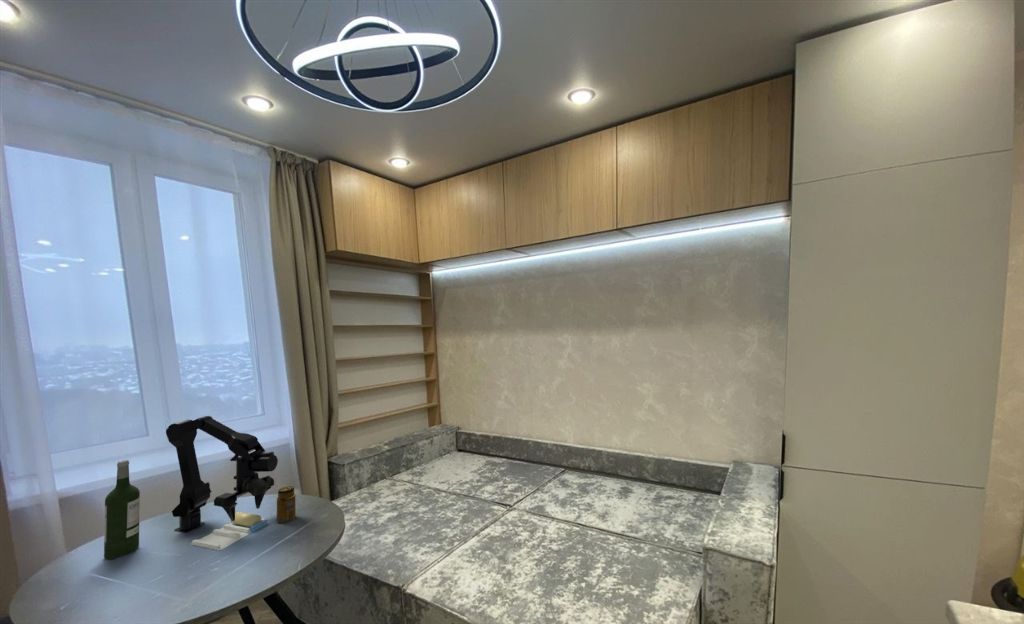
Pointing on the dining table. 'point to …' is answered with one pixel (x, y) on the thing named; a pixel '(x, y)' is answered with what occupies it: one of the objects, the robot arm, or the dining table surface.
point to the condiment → (286, 505)
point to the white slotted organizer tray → (227, 535)
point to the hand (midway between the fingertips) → (245, 514)
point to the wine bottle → (121, 516)
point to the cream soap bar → (246, 519)
